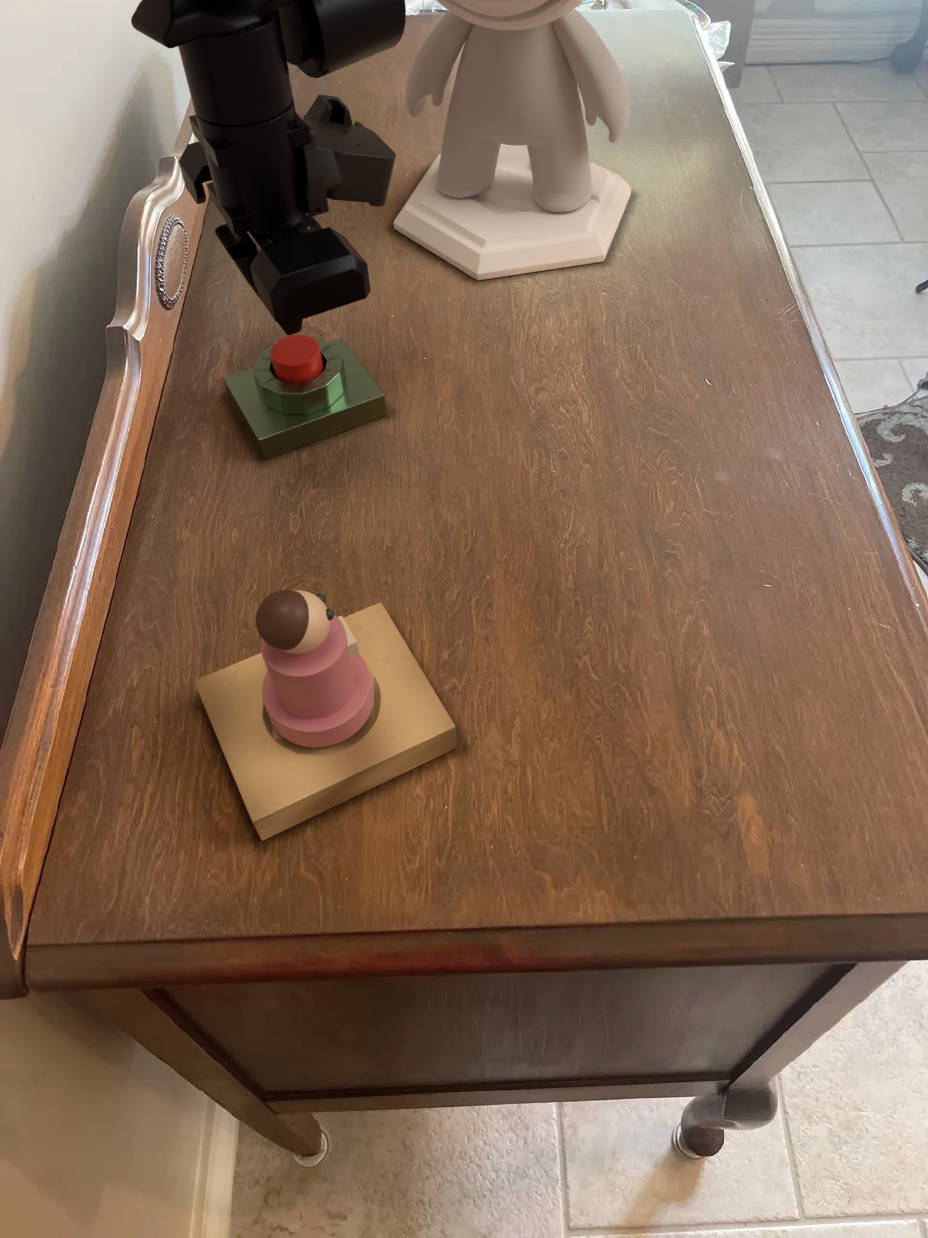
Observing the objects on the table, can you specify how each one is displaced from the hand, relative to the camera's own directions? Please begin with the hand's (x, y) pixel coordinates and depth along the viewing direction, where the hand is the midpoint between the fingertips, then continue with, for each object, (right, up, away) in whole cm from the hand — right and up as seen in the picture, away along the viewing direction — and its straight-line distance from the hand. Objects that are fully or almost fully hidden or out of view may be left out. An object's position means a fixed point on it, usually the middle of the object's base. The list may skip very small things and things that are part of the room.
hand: (292, 331), depth 66 cm
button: (0, -2, +3) cm, 3 cm away
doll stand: (+4, -27, -11) cm, 29 cm away
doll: (+4, -25, -13) cm, 29 cm away
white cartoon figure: (+17, +18, +21) cm, 33 cm away
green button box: (0, -4, +5) cm, 7 cm away
